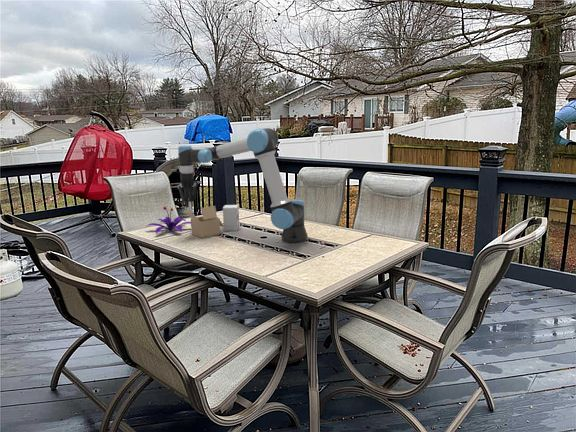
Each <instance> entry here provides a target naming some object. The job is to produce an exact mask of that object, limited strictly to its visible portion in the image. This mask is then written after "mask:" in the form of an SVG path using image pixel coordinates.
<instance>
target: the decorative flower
mask: <svg viewBox="0 0 576 432" xmlns="http://www.w3.org/2000/svg"><path fill="white" fill-rule="evenodd" d="M163 210H164V211H166V212H167V216H165V218H163V219H162V218H157V219H156V220H158V221H159V222H160V223H163V224H165V225H166V226H165V225H163V224H159V223H156V222H154V223H153V222H152V223H149V224H147V225H146V226H145V228H147V227H149V226H158V227H157V228H156V229H155V234H159V233H160V231H161V230H163V229H166V230H168V231H169V232H170V231H171V232H172V231H173V230H174V229H176V230H177V231H178V232H180V233H182V232H183V228H182V225H186V224H187V225H188V224H189V225H191V221H187V220H186V219H185V218H181V216H177V217H175V218H174V220H172V211H174V208H172V207H171V208H170V212H168V210H167V206H163ZM169 213H170V214H169ZM183 221H184V222H183ZM181 222H182V223H181Z"/></svg>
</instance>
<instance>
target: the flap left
mask: <svg viewBox="0 0 576 432" xmlns="http://www.w3.org/2000/svg"><path fill="white" fill-rule="evenodd" d="M183 213H185V214H186V215H187V216H188V217H189V218H190V219H191V218H192V219H195V220H198V221H199V219H198V218H197V217H198V216H196V215H195V214H194V213H193V212H192V213H191V212H188V211H187V210H183Z"/></svg>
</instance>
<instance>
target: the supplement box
mask: <svg viewBox="0 0 576 432" xmlns="http://www.w3.org/2000/svg"><path fill="white" fill-rule="evenodd" d="M239 210H240V209H239V204H225V205H223V207H222V218H223V219H222V220H223V221H222V224H223V225H224V227H223V232H237V231H238V230H239V229H240V211H239Z"/></svg>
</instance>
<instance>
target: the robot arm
mask: <svg viewBox="0 0 576 432" xmlns="http://www.w3.org/2000/svg"><path fill="white" fill-rule="evenodd" d="M277 145H279V135H278V133H277V132H276V131H275V129H273V128H270V127H269V128H268V127H267V128H257V129H256V128H255V129H254V130H252V131H250V132H249V134H248V136H247V137H245V138H242V139H238V140H234V141H231V142H227V143H223V144H220V145H216V146H212V147H205V148H200V149H199V148H198V149H197V148H196V149H194V148H193V147H192V145H191V144H190V145H179V146H178V150H177V151H178V153H177V155H178V164H179V175H180V183H179V184H178V185H176V188H177V189H178V192H179V195H180V198H181V201H182V202H185V208H186V211H188V212H191V213H192V214H193V209H192V207H193V206H194V205H193V202H194V201H196V197H197V189H198V187H199V183H197V182H195V179H194V178H195V177H194V166H193V165H194V163H201V164H208V163H210V162H211V161H217V160H221V159H223V158H224V159H225V158H228V157H231V156H236V155H240V154H244V153H247V152H252V153H253V155H254V158H255V159H257V160H258V162H259V165H260V168H261V171H262V175H263V177H264V180H265V181H264V182H265V184H266V187H267V191H268V195H269V197H270V200H271V205H270V210H271V214H270V222H271V224H272V225H273V226H274V227H275V228H277V229H279V230H282V233H281V236H280V238H281V239H280V240H281V241H282V242H284V243H289V244H296V243H297V244H298V243H303V242H306V241H308V236H309V235H308V233H307V229H306V227H305V202H304V200H301V199H290V198H288V196H287V192H286V189H285V185H284V182H283V179H282V176H281V173H280V170H279V166H278V163H277V161H276V156H275V153H276V152H277V150H276V147H277Z"/></svg>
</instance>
